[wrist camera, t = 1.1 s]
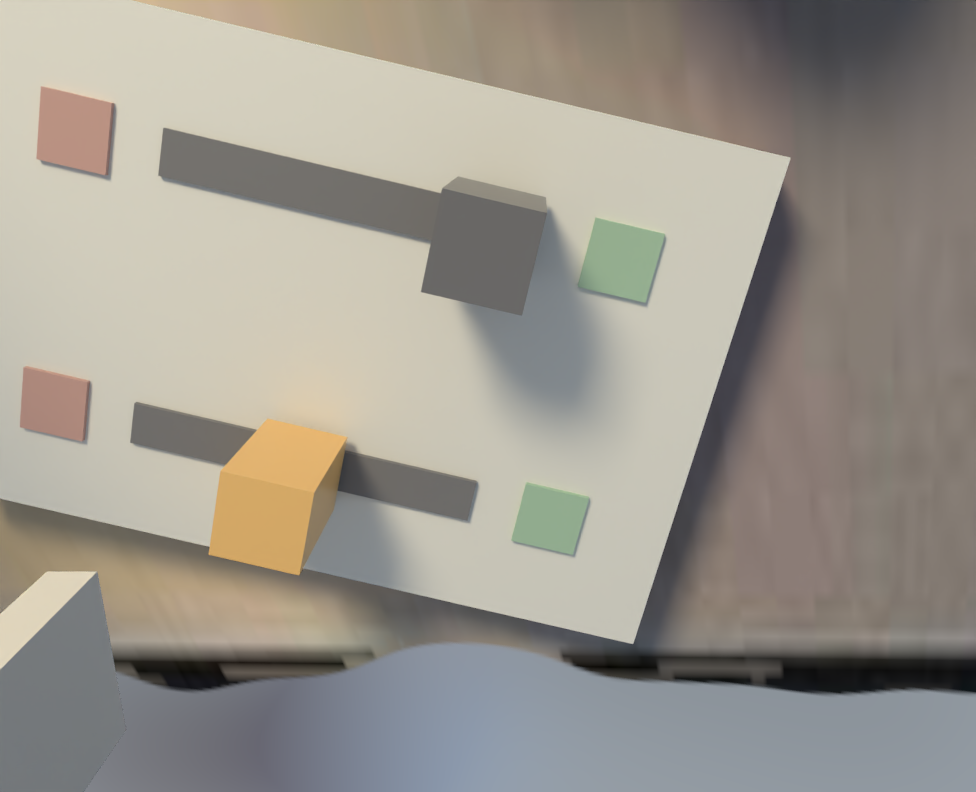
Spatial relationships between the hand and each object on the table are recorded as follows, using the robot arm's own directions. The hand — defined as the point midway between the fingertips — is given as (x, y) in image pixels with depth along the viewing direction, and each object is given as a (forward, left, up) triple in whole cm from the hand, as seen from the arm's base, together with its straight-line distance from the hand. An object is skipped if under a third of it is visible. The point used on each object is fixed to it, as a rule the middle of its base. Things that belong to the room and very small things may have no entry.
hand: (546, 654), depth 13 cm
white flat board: (-8, -2, -22) cm, 24 cm away
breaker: (-3, +3, -19) cm, 19 cm away
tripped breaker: (-8, -7, -19) cm, 22 cm away
